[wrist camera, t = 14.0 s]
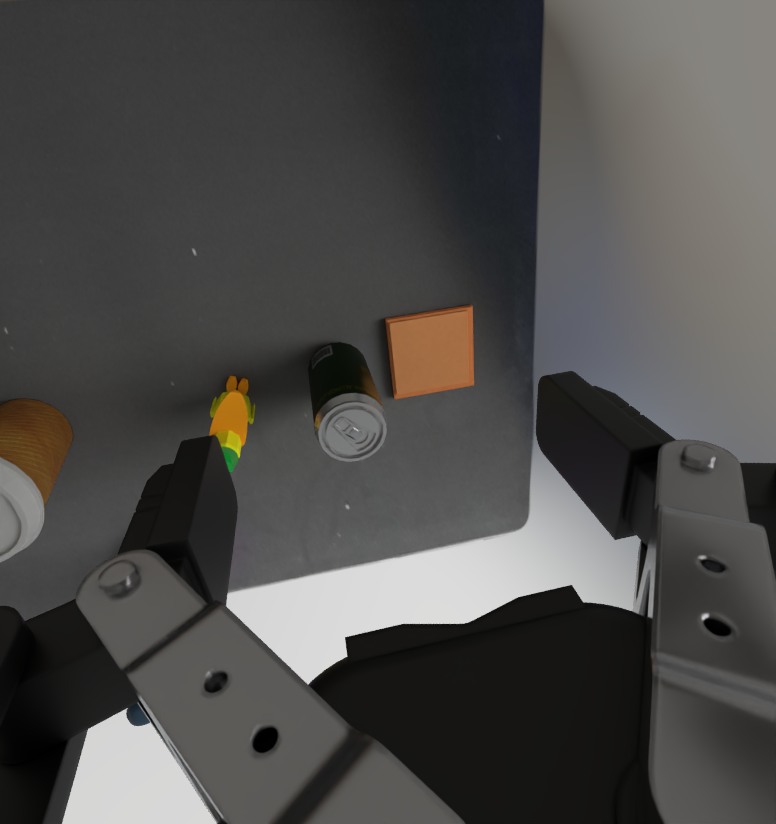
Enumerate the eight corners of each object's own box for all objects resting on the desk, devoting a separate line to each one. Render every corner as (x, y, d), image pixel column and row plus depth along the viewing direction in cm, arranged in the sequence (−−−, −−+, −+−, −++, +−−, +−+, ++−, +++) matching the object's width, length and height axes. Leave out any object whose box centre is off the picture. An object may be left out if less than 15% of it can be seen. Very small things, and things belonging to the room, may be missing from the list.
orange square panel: (470, 304, 45) (473, 307, 44) (472, 382, 49) (475, 386, 48) (384, 318, 44) (386, 321, 44) (393, 396, 48) (395, 401, 48)
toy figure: (223, 346, 43) (204, 411, 32) (265, 355, 44) (259, 420, 34) (212, 413, 46) (190, 493, 35) (251, 420, 47) (242, 499, 36)
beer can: (295, 370, 45) (299, 438, 35) (334, 327, 44) (350, 384, 34) (339, 403, 48) (355, 476, 37) (377, 363, 46) (404, 427, 36)
